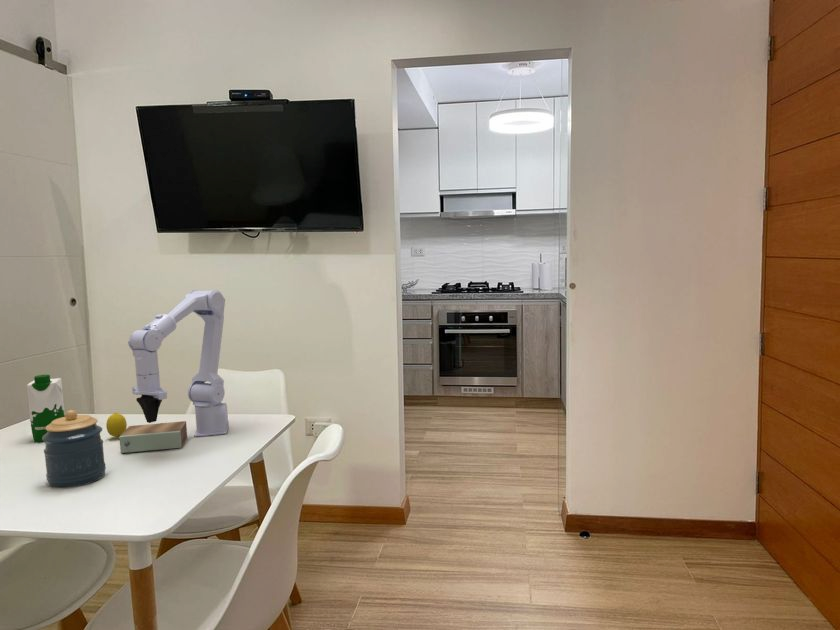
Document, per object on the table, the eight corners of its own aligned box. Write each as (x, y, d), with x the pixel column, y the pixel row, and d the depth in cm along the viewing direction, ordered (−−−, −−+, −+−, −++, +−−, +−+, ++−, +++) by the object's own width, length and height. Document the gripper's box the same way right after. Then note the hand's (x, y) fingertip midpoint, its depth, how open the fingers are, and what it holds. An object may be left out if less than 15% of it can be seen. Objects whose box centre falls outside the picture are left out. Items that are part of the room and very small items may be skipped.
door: (181, 446, 173) (180, 430, 173) (180, 448, 171) (179, 432, 171) (121, 451, 170) (120, 435, 170) (119, 454, 168) (118, 438, 168)
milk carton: (29, 444, 181) (22, 378, 179) (38, 435, 190) (31, 373, 188) (62, 440, 184) (56, 376, 182) (69, 432, 193) (63, 370, 190)
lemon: (131, 435, 187) (129, 410, 186) (120, 441, 182) (118, 415, 181) (114, 435, 188) (112, 410, 187) (103, 441, 182) (101, 415, 181)
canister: (112, 478, 151) (106, 409, 149) (52, 493, 142) (45, 420, 140) (99, 465, 161) (92, 400, 159) (42, 479, 152) (35, 410, 150)
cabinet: (187, 437, 183) (186, 421, 183) (181, 447, 174) (180, 430, 173) (130, 442, 180) (129, 426, 179) (121, 453, 170) (120, 435, 170)
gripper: (119, 373, 167) (124, 421, 168) (147, 379, 158) (151, 429, 160) (144, 368, 172) (148, 415, 174) (172, 374, 164) (176, 422, 165)
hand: (151, 421), depth 167 cm, fingers closed
